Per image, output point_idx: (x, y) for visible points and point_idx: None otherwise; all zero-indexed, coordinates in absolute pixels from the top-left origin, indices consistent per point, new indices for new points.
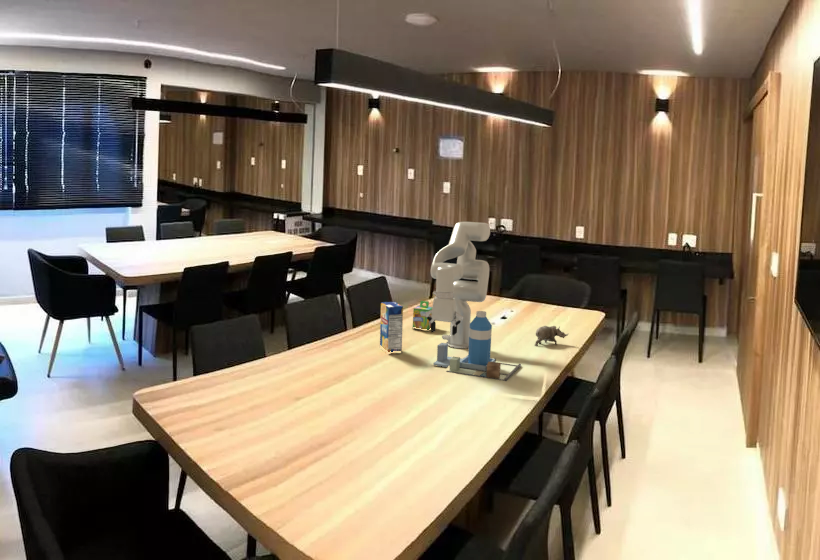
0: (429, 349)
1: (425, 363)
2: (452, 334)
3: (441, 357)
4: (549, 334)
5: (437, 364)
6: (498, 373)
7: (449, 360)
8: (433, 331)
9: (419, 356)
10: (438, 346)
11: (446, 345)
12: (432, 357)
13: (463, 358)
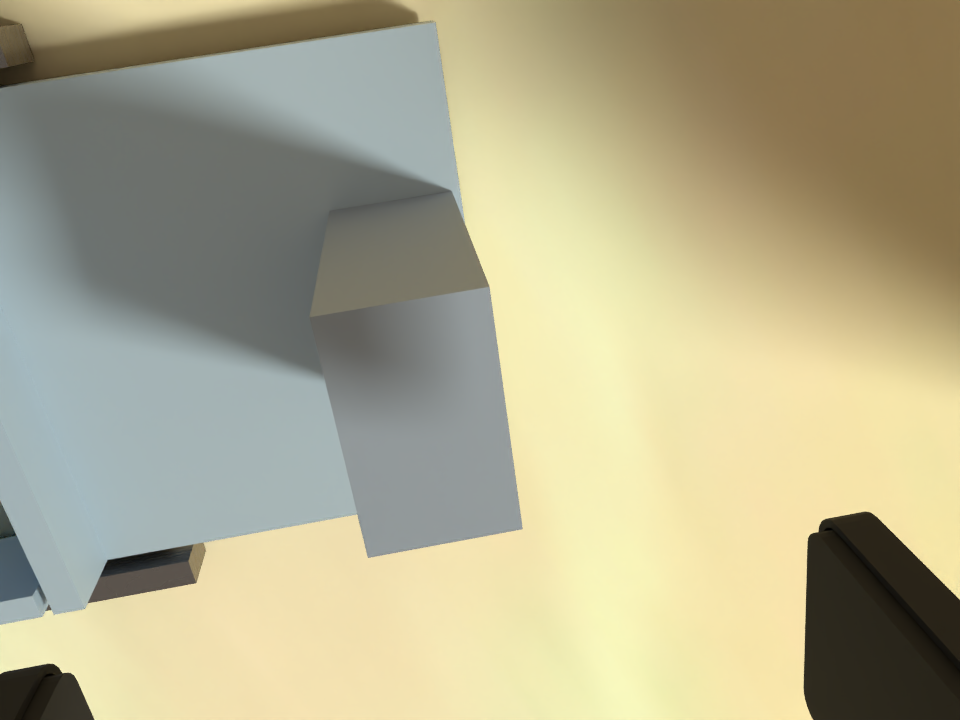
0: None
1: (616, 75)
2: (37, 672)
3: (368, 223)
4: None
5: (351, 35)
6: None
7: (294, 343)
8: (816, 570)
9: (844, 346)
10: (458, 280)
11: (349, 464)
12: (660, 419)
13: (188, 558)
